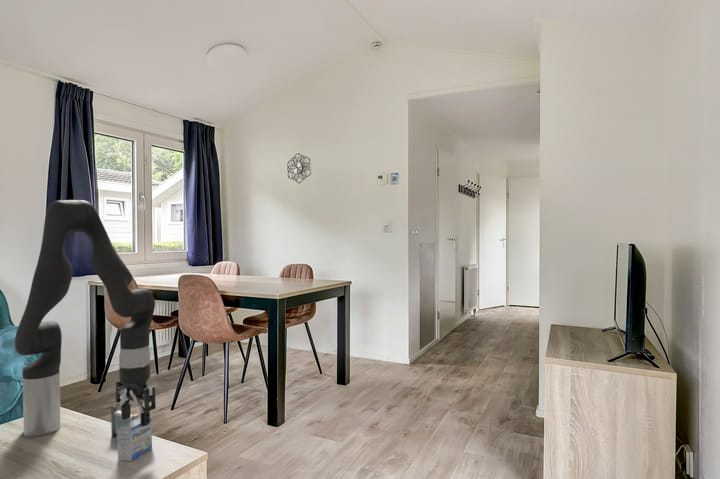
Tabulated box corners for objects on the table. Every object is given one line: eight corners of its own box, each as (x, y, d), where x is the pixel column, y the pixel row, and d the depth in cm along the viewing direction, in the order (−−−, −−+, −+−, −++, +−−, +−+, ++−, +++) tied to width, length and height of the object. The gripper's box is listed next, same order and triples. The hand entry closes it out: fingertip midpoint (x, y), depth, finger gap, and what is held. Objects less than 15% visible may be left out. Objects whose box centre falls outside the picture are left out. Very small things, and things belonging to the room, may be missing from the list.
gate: (114, 434, 130) (114, 409, 130) (119, 433, 131) (118, 408, 131) (134, 442, 125) (134, 416, 125) (139, 440, 126) (138, 414, 126)
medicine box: (131, 462, 116) (130, 429, 116) (117, 460, 117) (116, 427, 117) (152, 448, 123) (152, 417, 123) (139, 446, 124) (138, 415, 124)
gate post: (110, 436, 131) (109, 406, 131) (115, 434, 132) (115, 404, 132) (113, 438, 130) (113, 407, 130) (118, 435, 131) (118, 405, 131)
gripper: (106, 362, 120) (106, 421, 120) (138, 370, 113) (138, 433, 113) (132, 355, 127) (132, 411, 127) (163, 363, 119) (164, 422, 120)
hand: (135, 422), depth 120 cm, fingers open, 8 cm apart
